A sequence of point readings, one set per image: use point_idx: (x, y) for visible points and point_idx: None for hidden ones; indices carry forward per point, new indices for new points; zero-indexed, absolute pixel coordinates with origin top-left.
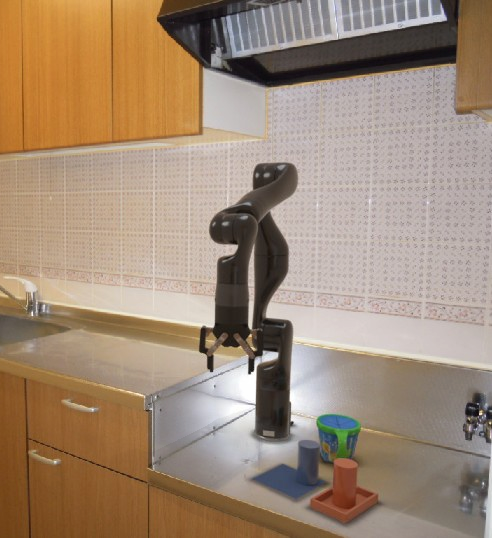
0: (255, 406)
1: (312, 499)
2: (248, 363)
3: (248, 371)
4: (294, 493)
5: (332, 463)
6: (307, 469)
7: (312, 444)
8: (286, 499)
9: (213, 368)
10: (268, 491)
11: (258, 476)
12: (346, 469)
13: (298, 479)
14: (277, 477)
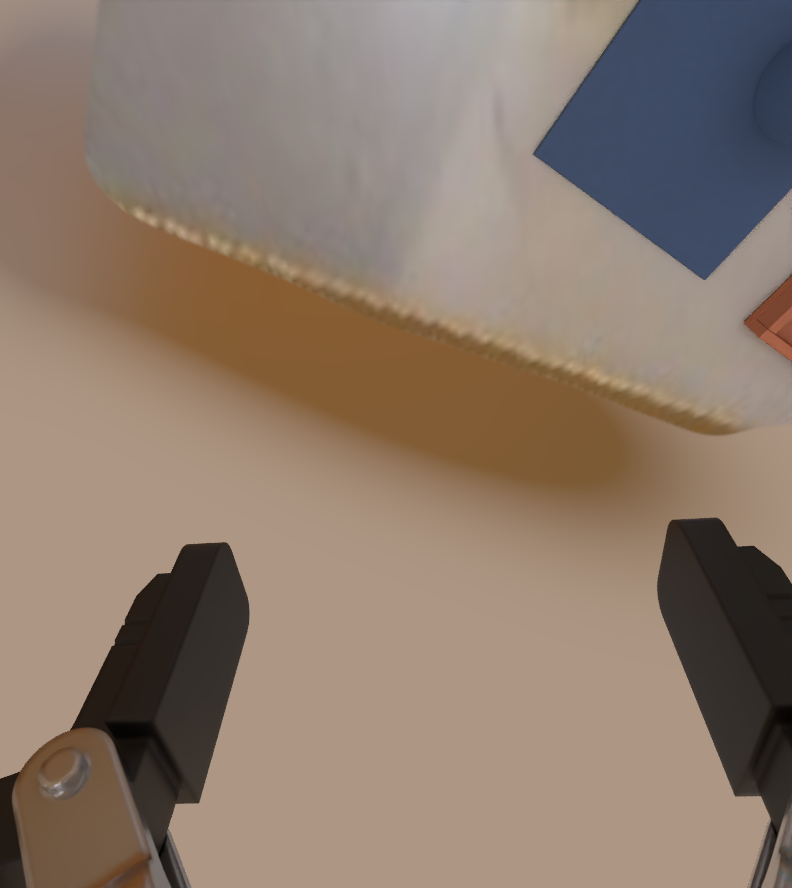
0: None
1: (766, 340)
2: (711, 724)
3: (674, 628)
4: (709, 238)
5: None
6: None
7: None
8: (665, 283)
9: (222, 563)
10: (600, 239)
11: (565, 118)
12: None
13: (762, 124)
14: (660, 97)
